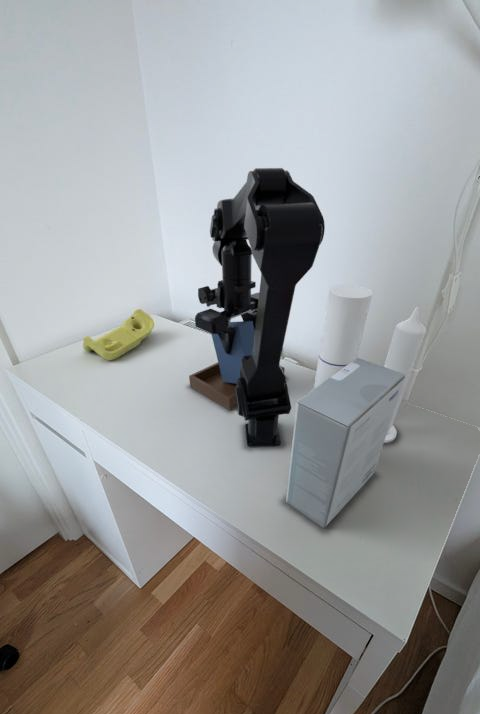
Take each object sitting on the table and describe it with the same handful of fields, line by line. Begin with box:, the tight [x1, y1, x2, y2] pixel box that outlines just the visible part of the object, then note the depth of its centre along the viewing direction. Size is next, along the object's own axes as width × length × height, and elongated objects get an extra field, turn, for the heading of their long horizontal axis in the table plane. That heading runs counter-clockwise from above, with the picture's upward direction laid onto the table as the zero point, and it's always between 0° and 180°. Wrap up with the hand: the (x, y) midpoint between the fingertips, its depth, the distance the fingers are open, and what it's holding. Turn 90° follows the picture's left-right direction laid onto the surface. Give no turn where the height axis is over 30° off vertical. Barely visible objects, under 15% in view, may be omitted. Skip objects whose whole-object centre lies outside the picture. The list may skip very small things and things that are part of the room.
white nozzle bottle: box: [383, 306, 427, 444], centre depth 60 cm, size 7×7×25 cm
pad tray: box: [188, 361, 286, 411], centre depth 81 cm, size 19×14×3 cm
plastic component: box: [82, 308, 155, 361], centre depth 97 cm, size 20×7×10 cm
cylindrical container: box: [313, 284, 373, 389], centre depth 65 cm, size 7×7×25 cm
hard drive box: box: [285, 357, 405, 529], centre depth 50 cm, size 16×8×20 cm, turn 136°
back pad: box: [210, 320, 255, 384], centre depth 76 cm, size 9×4×13 cm, turn 49°
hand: (237, 349), depth 76 cm, fingers open, 6 cm apart
